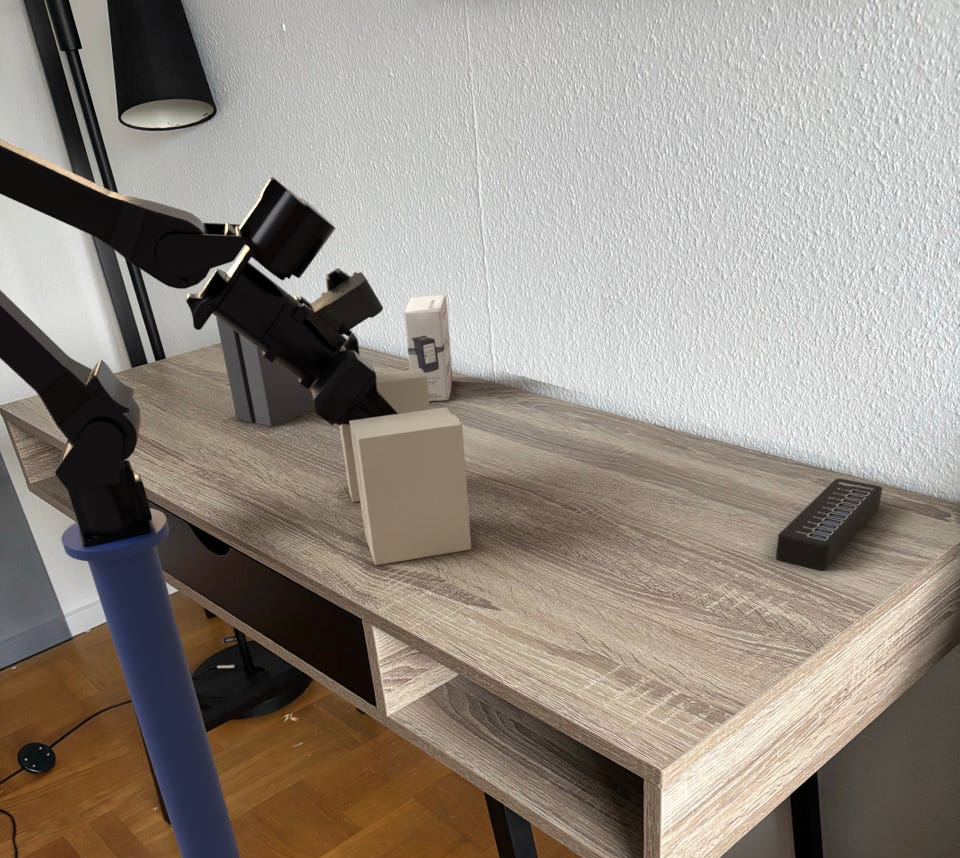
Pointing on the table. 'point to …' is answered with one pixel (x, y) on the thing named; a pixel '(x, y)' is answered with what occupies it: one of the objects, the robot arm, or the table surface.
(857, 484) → the multiport hub
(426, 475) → the white books
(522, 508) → the table surface
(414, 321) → the ink box
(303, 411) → the grey books
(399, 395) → the white book
